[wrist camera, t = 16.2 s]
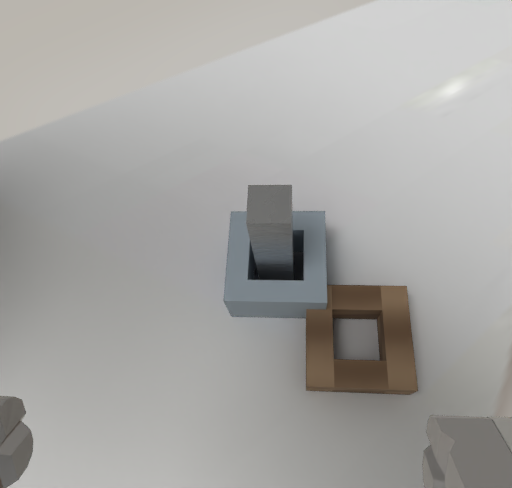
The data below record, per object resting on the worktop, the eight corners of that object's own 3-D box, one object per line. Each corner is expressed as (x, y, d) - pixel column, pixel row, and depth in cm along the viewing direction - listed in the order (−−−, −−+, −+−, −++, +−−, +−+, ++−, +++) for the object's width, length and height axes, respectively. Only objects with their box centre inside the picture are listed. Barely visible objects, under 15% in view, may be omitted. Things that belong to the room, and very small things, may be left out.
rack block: (324, 318, 41) (327, 302, 36) (231, 316, 42) (223, 300, 37) (322, 234, 45) (325, 211, 40) (237, 234, 46) (230, 211, 41)
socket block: (409, 394, 37) (417, 390, 35) (306, 390, 38) (306, 386, 36) (399, 296, 41) (406, 286, 39) (305, 295, 42) (306, 284, 39)
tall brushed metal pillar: (293, 289, 43) (291, 223, 30) (261, 288, 43) (246, 223, 30) (293, 259, 44) (291, 184, 31) (262, 259, 44) (248, 185, 32)
